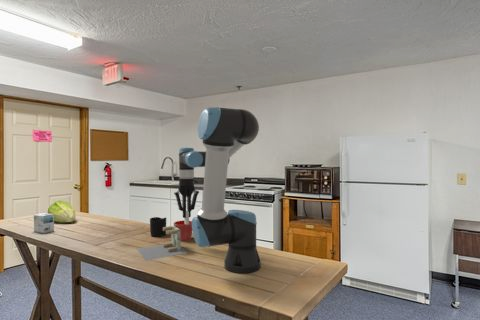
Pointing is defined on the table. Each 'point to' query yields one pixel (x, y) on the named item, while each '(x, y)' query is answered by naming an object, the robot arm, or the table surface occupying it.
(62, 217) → the lettuce
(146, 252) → the mat
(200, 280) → the table surface
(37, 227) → the light bulb box
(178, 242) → the stool
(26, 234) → the table surface
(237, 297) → the table surface
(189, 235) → the flower pot
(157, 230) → the pen holder
